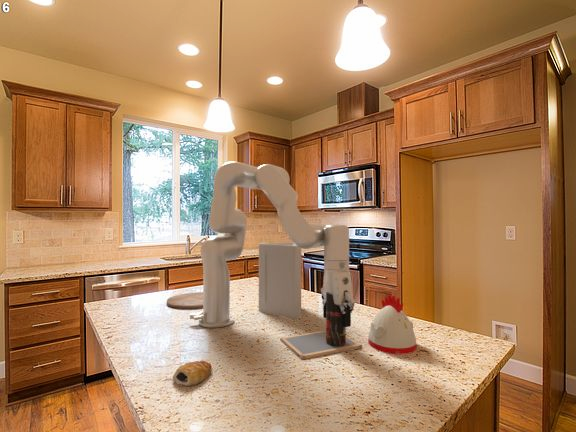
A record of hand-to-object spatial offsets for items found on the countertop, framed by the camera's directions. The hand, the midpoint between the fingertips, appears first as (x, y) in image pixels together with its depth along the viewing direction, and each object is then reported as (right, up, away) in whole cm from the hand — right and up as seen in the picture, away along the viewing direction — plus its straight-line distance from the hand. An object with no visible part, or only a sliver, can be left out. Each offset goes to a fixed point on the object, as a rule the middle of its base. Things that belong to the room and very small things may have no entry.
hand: (336, 321), depth 97 cm
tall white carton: (-15, -8, +37) cm, 41 cm away
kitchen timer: (+17, -8, +1) cm, 19 cm away
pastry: (-38, -7, -20) cm, 43 cm away
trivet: (-57, -8, +51) cm, 77 cm away
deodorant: (0, -7, 0) cm, 7 cm away
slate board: (-5, -7, +1) cm, 9 cm away
